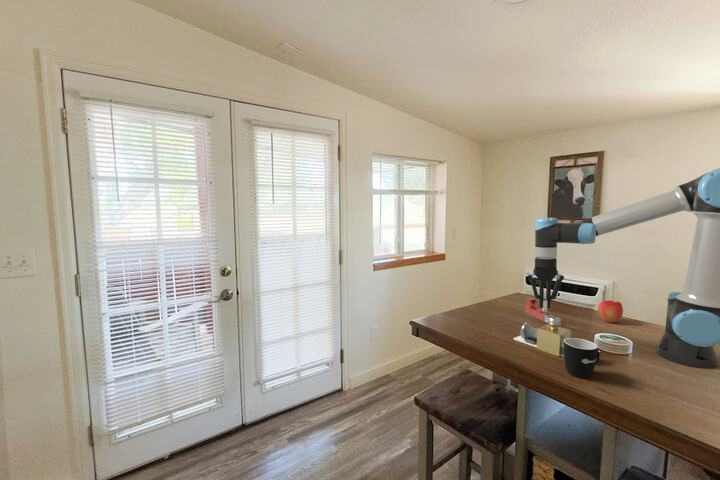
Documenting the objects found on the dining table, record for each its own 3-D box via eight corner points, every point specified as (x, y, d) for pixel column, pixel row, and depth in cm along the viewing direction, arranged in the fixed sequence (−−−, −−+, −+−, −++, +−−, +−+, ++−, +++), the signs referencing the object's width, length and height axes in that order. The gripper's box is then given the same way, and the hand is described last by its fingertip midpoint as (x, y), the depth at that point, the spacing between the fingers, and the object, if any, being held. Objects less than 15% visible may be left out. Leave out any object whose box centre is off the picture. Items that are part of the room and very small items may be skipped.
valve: (590, 357, 117) (592, 332, 116) (580, 364, 113) (582, 337, 112) (529, 337, 136) (530, 315, 135) (518, 342, 131) (519, 319, 130)
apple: (625, 322, 152) (627, 301, 151) (617, 326, 147) (619, 304, 146) (601, 316, 160) (602, 296, 159) (592, 320, 155) (594, 299, 153)
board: (600, 352, 122) (600, 351, 122) (581, 363, 114) (582, 362, 113) (533, 331, 142) (533, 330, 142) (513, 339, 134) (513, 338, 134)
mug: (579, 382, 101) (581, 350, 100) (555, 368, 110) (557, 339, 109) (610, 377, 104) (612, 346, 103) (585, 364, 113) (587, 335, 112)
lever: (563, 326, 122) (564, 310, 121) (553, 327, 121) (554, 310, 120) (532, 311, 138) (533, 297, 138) (524, 312, 138) (524, 297, 137)
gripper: (562, 256, 131) (560, 313, 134) (526, 255, 135) (525, 311, 138) (566, 259, 124) (565, 320, 127) (528, 258, 128) (527, 317, 131)
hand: (544, 315), depth 132 cm, fingers closed
